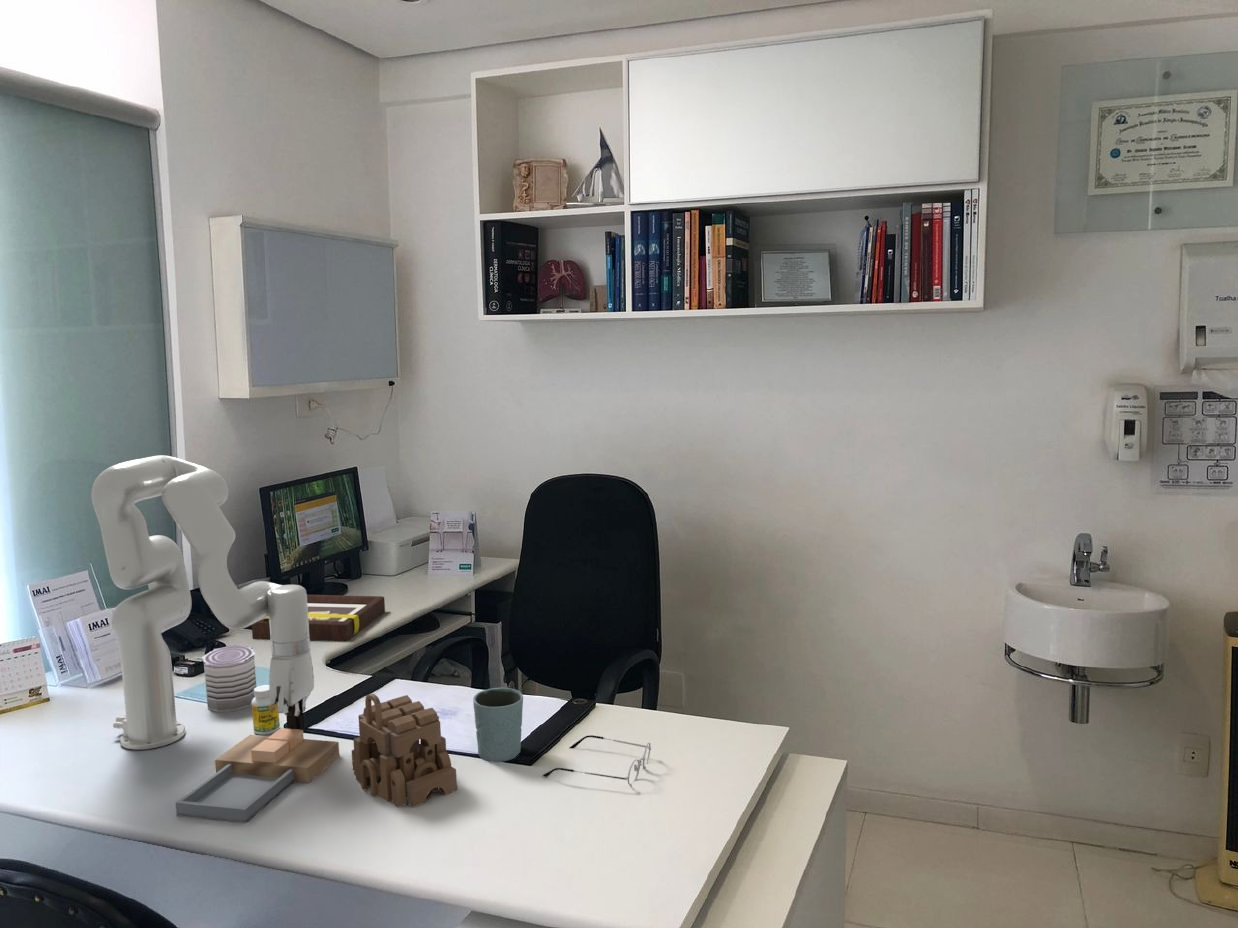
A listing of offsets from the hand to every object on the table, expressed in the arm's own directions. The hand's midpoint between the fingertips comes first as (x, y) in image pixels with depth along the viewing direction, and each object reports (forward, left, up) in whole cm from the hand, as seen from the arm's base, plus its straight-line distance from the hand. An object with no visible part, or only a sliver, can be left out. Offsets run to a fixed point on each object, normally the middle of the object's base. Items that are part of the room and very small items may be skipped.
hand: (296, 731), depth 202 cm
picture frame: (-39, +79, -5) cm, 89 cm away
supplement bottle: (-12, +8, -4) cm, 15 cm away
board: (0, -7, -4) cm, 8 cm away
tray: (0, -21, -4) cm, 22 cm away
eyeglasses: (+64, +3, -5) cm, 64 cm away
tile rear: (0, -4, -1) cm, 4 cm away
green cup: (+42, +6, -4) cm, 43 cm away
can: (-29, +21, -4) cm, 36 cm away
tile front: (0, -10, -1) cm, 10 cm away
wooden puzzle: (+27, -9, -4) cm, 29 cm away
